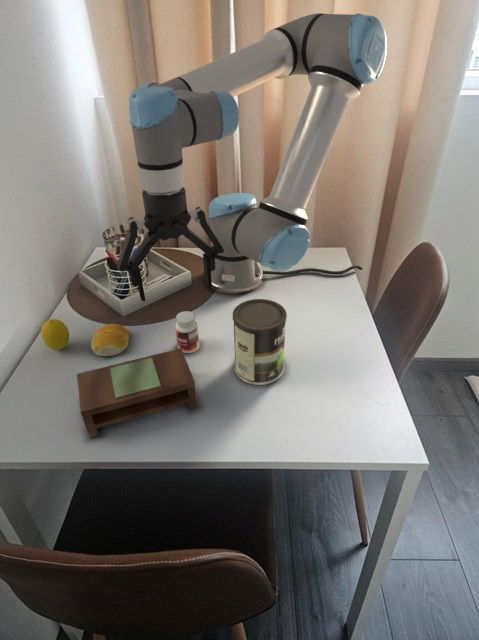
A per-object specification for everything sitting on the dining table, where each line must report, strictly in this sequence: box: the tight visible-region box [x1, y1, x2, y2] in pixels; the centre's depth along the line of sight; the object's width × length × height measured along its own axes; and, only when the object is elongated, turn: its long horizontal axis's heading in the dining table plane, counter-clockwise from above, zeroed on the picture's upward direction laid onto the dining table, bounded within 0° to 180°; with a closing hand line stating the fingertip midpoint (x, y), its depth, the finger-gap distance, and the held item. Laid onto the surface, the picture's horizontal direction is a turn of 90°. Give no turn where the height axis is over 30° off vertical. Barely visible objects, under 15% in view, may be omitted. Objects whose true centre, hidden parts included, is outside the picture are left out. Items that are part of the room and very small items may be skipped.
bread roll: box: [90, 323, 130, 357], centre depth 99 cm, size 8×9×4 cm
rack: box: [76, 348, 198, 439], centre depth 83 cm, size 20×10×7 cm, turn 110°
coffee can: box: [232, 298, 287, 386], centre depth 89 cm, size 10×10×14 cm
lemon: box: [40, 318, 70, 350], centre depth 97 cm, size 6×6×8 cm
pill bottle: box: [174, 310, 200, 354], centre depth 96 cm, size 5×5×8 cm
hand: (176, 291), depth 90 cm, fingers open, 13 cm apart
